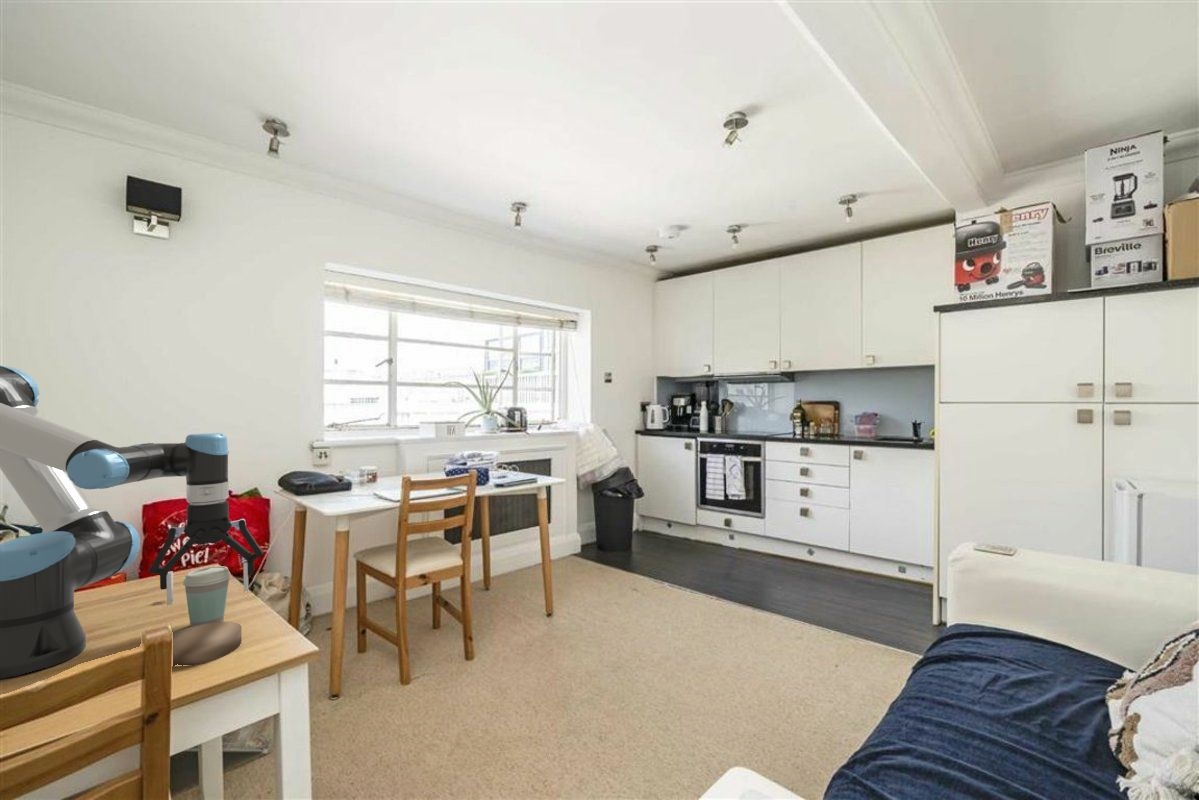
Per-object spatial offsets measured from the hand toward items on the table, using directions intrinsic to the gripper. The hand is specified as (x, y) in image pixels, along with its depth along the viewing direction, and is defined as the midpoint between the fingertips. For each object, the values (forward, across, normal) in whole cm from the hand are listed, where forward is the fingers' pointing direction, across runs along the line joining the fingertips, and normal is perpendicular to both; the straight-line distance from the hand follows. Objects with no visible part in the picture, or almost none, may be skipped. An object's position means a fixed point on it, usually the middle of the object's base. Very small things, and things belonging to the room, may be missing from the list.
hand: (209, 596), depth 115 cm
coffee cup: (+7, 0, 0) cm, 7 cm away
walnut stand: (+7, 0, -14) cm, 16 cm away
